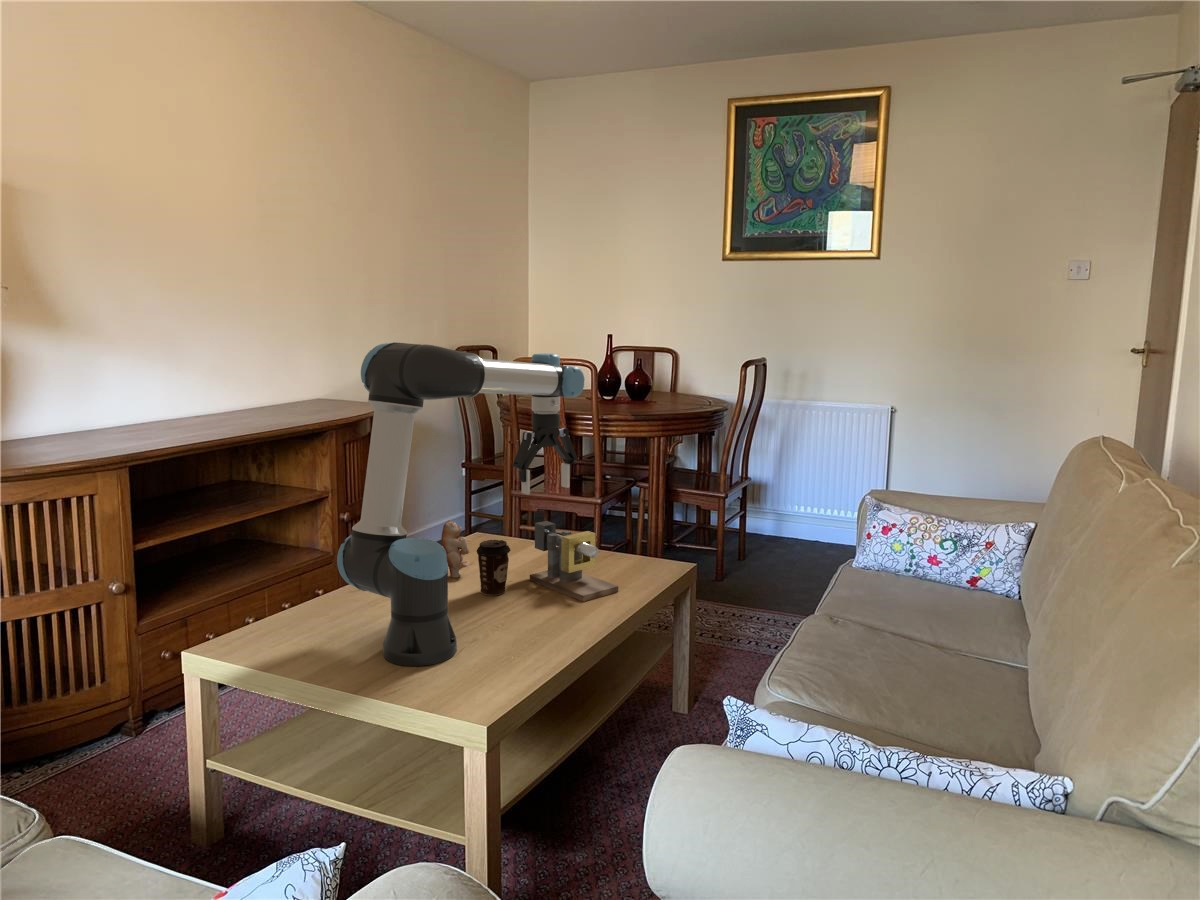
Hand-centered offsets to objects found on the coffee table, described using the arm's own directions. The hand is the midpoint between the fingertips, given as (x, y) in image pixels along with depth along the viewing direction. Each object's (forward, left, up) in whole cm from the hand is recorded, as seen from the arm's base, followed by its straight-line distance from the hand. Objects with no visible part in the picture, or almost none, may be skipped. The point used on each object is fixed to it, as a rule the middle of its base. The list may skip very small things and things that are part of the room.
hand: (545, 490), depth 227 cm
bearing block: (0, -12, -24) cm, 27 cm away
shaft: (0, -9, -16) cm, 18 cm away
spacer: (0, -14, -18) cm, 23 cm away
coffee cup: (-19, -3, -24) cm, 31 cm away
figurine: (-19, +15, -24) cm, 34 cm away
